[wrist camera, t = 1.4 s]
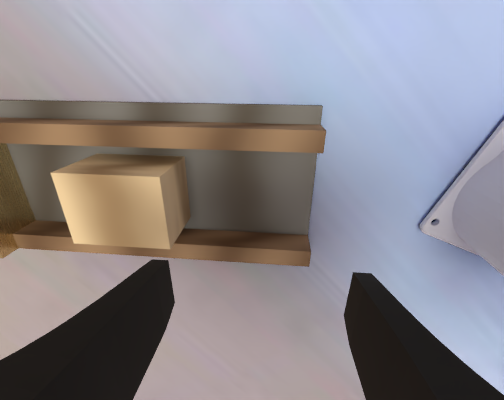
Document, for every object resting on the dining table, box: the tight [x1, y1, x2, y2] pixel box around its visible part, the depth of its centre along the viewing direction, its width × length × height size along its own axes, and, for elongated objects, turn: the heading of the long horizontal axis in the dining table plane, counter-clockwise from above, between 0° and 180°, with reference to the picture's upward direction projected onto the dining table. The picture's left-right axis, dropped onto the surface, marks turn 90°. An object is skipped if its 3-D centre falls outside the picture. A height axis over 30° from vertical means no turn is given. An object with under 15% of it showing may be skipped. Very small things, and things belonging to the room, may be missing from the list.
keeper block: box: [51, 154, 191, 249], centre depth 16 cm, size 6×4×4 cm
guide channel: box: [0, 100, 326, 267], centre depth 18 cm, size 22×11×2 cm, turn 90°
